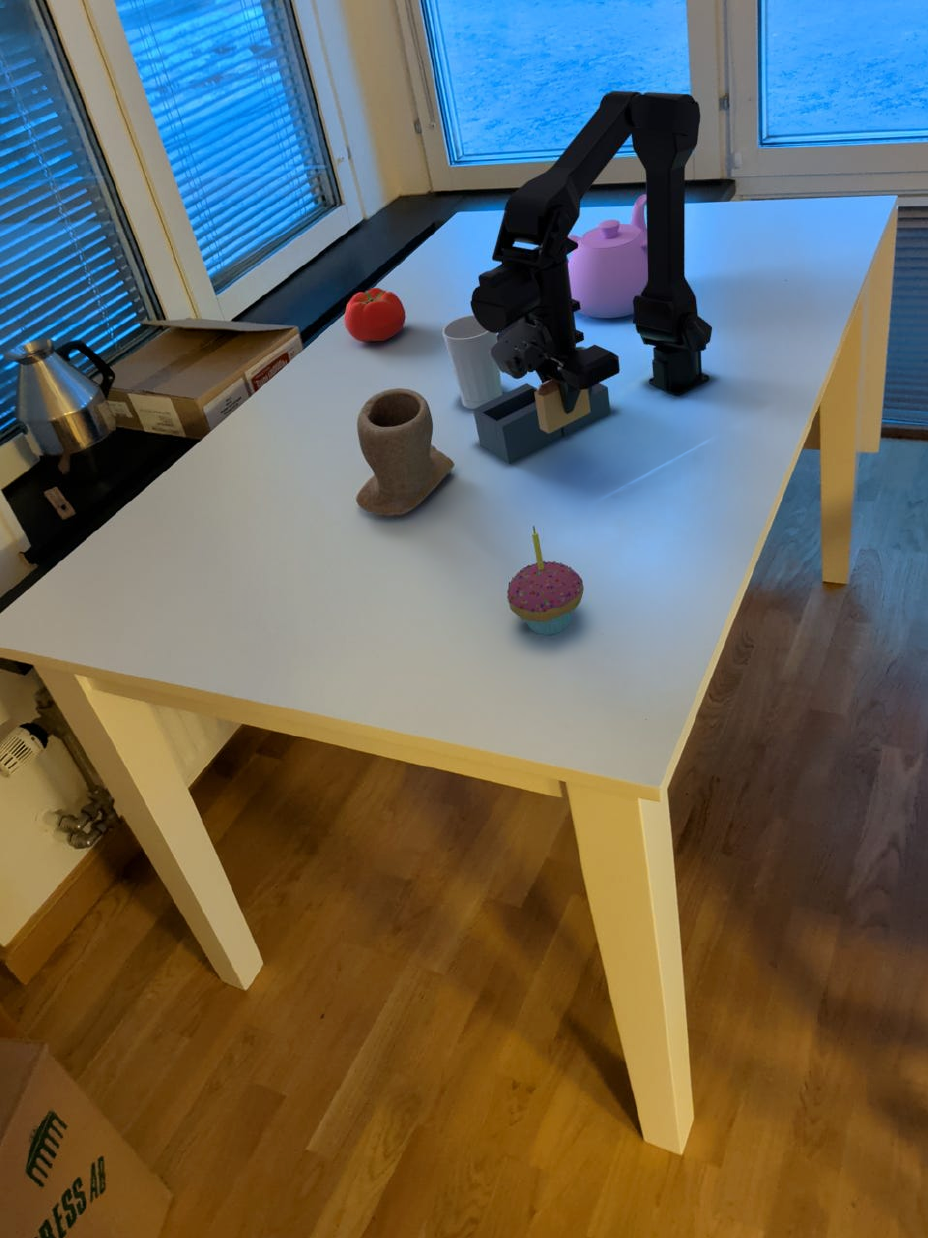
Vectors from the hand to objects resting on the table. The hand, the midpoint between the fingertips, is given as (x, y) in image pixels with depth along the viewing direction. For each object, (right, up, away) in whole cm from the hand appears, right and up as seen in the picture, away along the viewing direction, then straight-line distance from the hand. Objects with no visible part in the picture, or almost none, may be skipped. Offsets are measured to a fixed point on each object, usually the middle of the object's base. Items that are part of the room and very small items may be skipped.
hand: (563, 409), depth 139 cm
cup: (-10, +6, +24) cm, 27 cm away
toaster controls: (+2, +2, +15) cm, 15 cm away
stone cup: (-20, -10, +7) cm, 24 cm away
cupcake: (-3, -28, -19) cm, 34 cm away
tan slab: (0, -1, +1) cm, 2 cm away
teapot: (+14, +28, +43) cm, 53 cm away
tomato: (-28, +23, +49) cm, 61 cm away
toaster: (-5, -2, +12) cm, 13 cm away
